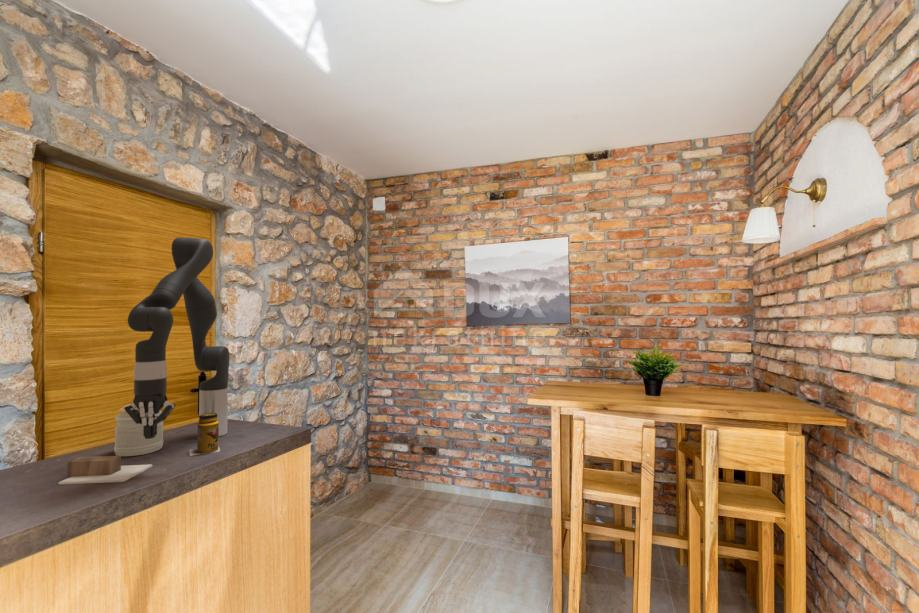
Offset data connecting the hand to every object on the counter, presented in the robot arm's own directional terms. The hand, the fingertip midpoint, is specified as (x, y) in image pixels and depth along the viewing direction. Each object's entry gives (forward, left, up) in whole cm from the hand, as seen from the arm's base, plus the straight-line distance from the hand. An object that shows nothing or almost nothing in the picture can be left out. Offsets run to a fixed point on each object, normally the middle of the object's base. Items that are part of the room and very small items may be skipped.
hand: (150, 437), depth 120 cm
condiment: (-19, +6, -10) cm, 22 cm away
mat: (+1, -10, -9) cm, 14 cm away
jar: (-22, -16, -10) cm, 28 cm away
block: (+1, -8, -7) cm, 11 cm away
